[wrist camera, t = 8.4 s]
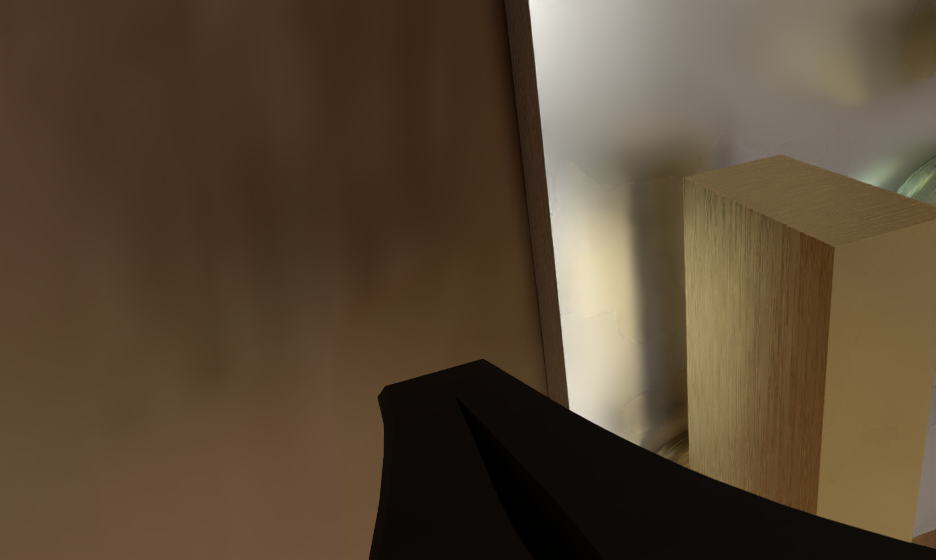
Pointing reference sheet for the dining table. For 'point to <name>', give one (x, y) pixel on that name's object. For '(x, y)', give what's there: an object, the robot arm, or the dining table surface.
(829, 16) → the levelling plate
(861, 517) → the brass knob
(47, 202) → the dining table surface
